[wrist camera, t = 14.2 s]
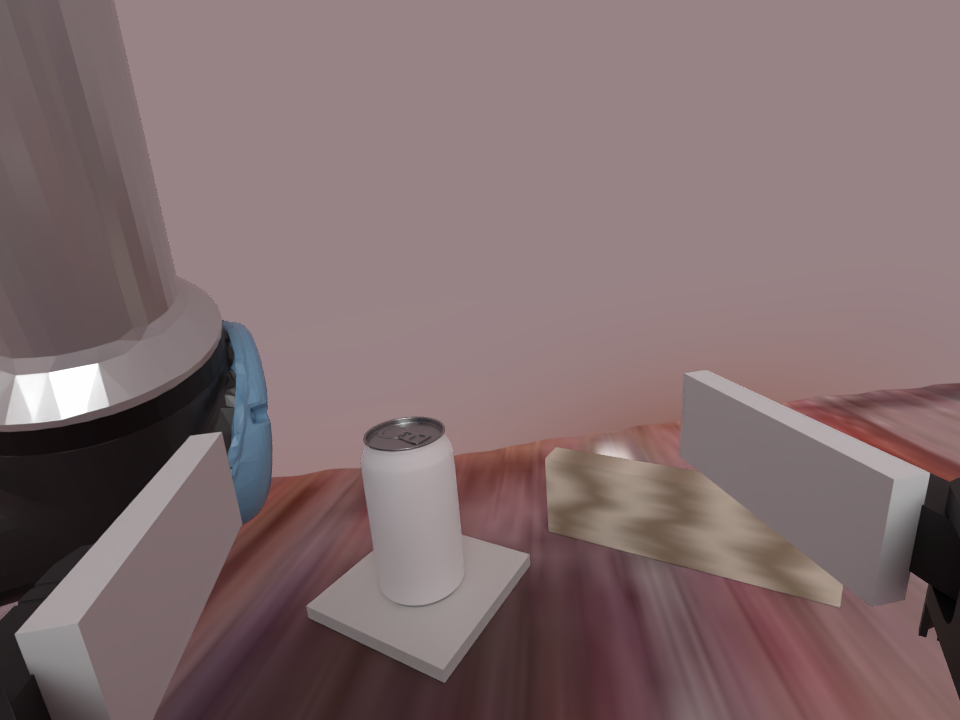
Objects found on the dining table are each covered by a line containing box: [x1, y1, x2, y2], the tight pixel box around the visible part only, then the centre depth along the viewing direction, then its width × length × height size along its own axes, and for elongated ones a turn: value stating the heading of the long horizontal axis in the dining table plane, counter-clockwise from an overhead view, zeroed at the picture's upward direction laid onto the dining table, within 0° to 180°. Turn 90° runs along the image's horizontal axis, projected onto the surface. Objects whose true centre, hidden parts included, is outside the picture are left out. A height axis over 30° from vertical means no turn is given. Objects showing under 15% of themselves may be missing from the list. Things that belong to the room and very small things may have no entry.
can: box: [361, 417, 465, 607], centre depth 37 cm, size 6×6×12 cm
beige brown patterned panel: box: [545, 447, 843, 607], centre depth 39 cm, size 21×2×7 cm, turn 59°
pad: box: [306, 535, 530, 683], centre depth 38 cm, size 12×12×1 cm
